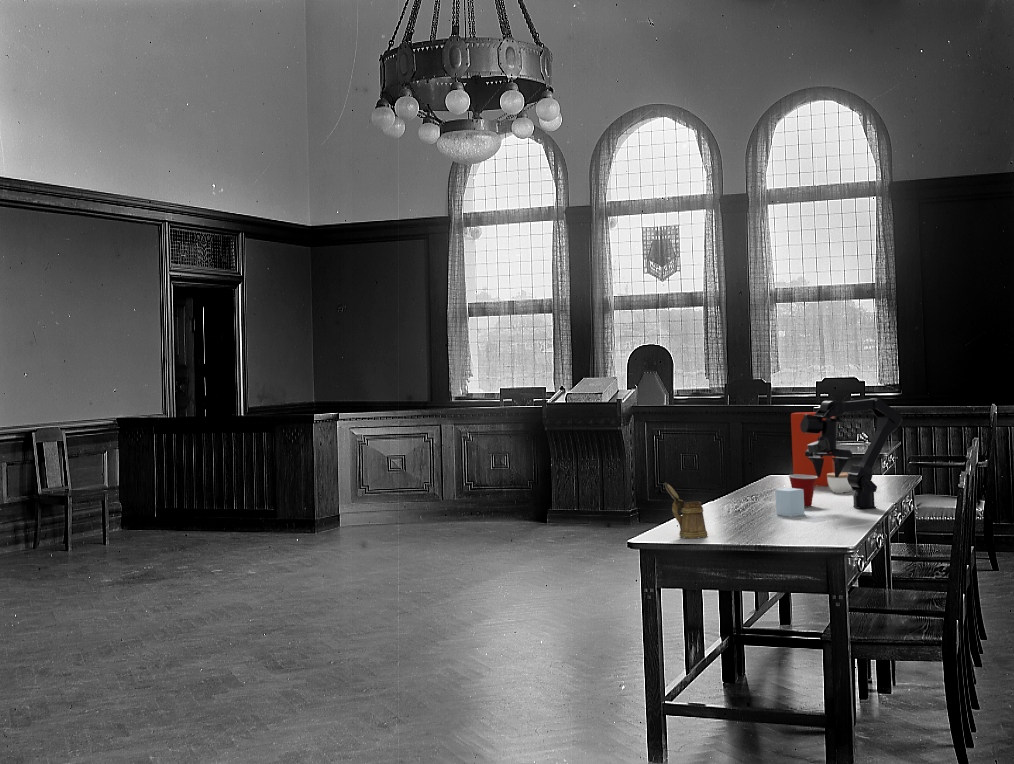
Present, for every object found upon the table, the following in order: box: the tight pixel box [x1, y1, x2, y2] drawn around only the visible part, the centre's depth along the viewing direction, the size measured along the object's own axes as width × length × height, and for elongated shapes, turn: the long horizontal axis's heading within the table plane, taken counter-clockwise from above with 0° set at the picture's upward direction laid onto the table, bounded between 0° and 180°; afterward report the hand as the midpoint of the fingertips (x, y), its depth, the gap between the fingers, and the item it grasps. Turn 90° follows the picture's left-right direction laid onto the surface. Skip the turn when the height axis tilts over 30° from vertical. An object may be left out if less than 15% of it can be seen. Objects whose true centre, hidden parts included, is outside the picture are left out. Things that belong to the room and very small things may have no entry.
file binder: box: [790, 411, 836, 487], centre depth 480 cm, size 8×17×32 cm, turn 57°
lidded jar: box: [827, 471, 852, 494], centre depth 453 cm, size 11×11×9 cm
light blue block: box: [774, 487, 805, 518], centre depth 395 cm, size 7×7×10 cm
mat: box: [791, 514, 840, 523], centre depth 383 cm, size 12×12×1 cm
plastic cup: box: [788, 473, 817, 508], centre depth 417 cm, size 11×11×12 cm
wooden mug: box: [664, 482, 708, 539], centre depth 361 cm, size 9×14×18 cm, turn 69°
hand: (827, 477), depth 400 cm, fingers open, 9 cm apart
